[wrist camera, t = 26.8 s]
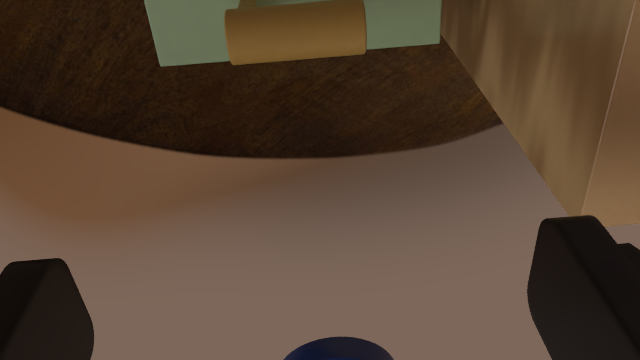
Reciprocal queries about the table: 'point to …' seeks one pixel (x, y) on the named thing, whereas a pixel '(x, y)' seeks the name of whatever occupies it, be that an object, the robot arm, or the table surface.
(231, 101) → the table surface
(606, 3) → the stand
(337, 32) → the lid
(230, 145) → the table surface
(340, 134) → the table surface
